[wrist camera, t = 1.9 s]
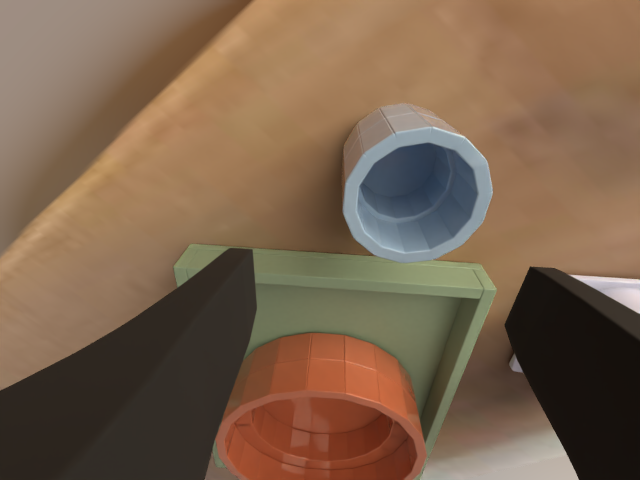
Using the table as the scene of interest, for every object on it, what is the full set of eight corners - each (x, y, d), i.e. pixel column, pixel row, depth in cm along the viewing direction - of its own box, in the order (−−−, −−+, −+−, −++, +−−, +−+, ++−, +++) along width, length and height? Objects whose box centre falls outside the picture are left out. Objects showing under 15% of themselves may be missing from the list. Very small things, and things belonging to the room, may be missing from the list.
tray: (480, 263, 19) (497, 289, 17) (413, 453, 29) (418, 484, 27) (190, 243, 19) (172, 266, 17) (224, 438, 30) (215, 467, 28)
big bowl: (428, 331, 22) (449, 401, 18) (395, 441, 29) (405, 511, 24) (229, 316, 22) (203, 382, 18) (243, 429, 29) (226, 496, 25)
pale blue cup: (459, 103, 15) (514, 131, 10) (433, 207, 18) (468, 268, 13) (347, 97, 15) (350, 121, 10) (338, 201, 18) (337, 259, 13)
